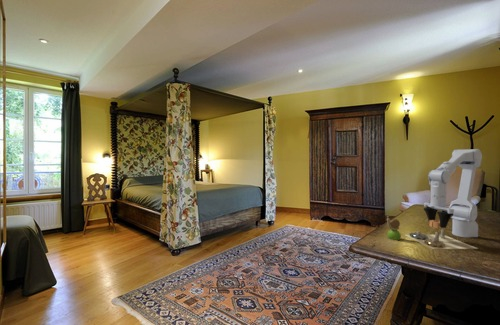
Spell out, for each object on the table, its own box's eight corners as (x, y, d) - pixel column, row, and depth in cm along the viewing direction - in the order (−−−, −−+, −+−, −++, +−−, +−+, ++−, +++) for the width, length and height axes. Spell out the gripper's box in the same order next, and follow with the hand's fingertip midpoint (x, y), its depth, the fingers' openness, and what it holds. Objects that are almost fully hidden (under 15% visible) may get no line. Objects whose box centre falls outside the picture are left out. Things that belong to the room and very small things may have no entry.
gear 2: (435, 241, 109) (435, 238, 109) (448, 247, 102) (449, 244, 102) (420, 241, 108) (420, 238, 108) (432, 247, 101) (432, 244, 101)
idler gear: (438, 224, 113) (438, 219, 113) (449, 228, 107) (449, 223, 107) (426, 224, 113) (426, 219, 113) (436, 228, 107) (436, 223, 107)
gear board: (443, 236, 119) (443, 226, 119) (478, 251, 101) (478, 239, 101) (403, 236, 118) (404, 226, 118) (432, 251, 100) (432, 239, 100)
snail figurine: (382, 239, 115) (383, 214, 115) (395, 238, 116) (395, 214, 115) (390, 243, 110) (390, 217, 109) (403, 242, 110) (404, 217, 110)
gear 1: (420, 234, 118) (420, 232, 118) (431, 239, 111) (431, 237, 111) (406, 234, 118) (406, 232, 118) (416, 239, 111) (416, 237, 111)
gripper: (418, 193, 116) (417, 221, 117) (442, 198, 102) (441, 230, 102) (432, 193, 117) (431, 221, 117) (458, 199, 102) (457, 230, 103)
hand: (437, 225), depth 110 cm, fingers closed on idler gear, 6 cm apart
